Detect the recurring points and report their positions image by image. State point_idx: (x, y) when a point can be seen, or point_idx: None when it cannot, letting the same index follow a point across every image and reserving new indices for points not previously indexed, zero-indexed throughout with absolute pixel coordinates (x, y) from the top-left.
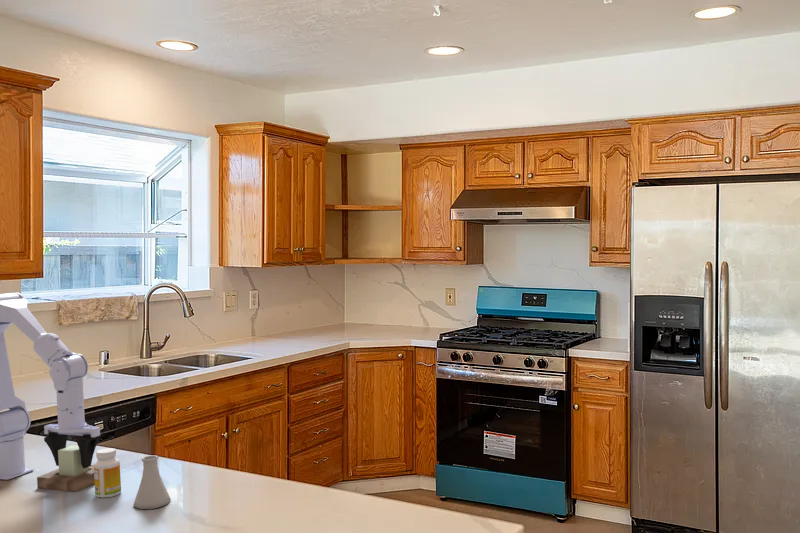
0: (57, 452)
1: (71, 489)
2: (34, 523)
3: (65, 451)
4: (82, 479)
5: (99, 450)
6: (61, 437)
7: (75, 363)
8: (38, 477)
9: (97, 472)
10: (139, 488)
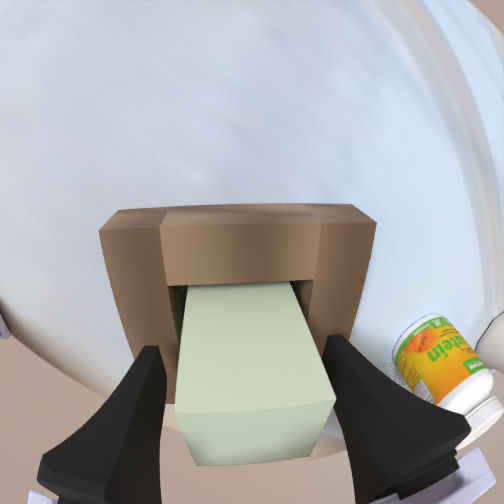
0: (156, 433)
1: None
2: (341, 447)
3: (252, 461)
4: None
5: (464, 443)
6: (137, 494)
7: None
8: None
9: None
10: (498, 370)
